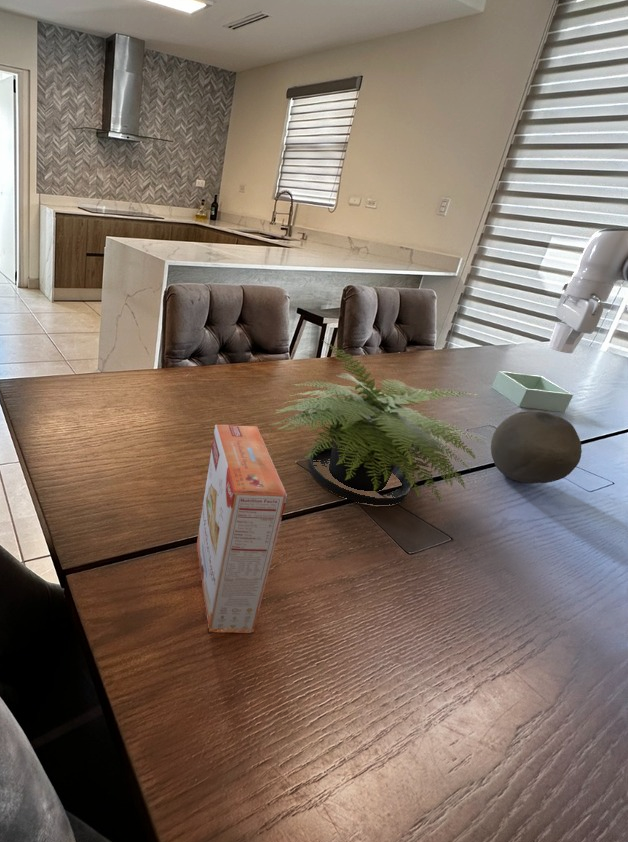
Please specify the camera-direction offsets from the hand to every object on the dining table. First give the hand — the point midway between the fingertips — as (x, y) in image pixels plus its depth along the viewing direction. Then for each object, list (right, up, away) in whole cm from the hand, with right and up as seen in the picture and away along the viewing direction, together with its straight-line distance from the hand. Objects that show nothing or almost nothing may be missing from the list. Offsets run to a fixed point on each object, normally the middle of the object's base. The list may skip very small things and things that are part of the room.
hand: (564, 340), depth 129 cm
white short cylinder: (0, -3, +1) cm, 3 cm away
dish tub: (-3, -16, +10) cm, 19 cm away
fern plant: (-71, -29, -39) cm, 86 cm away
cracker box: (-100, -38, -67) cm, 126 cm away
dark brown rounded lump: (-36, -31, -33) cm, 58 cm away
